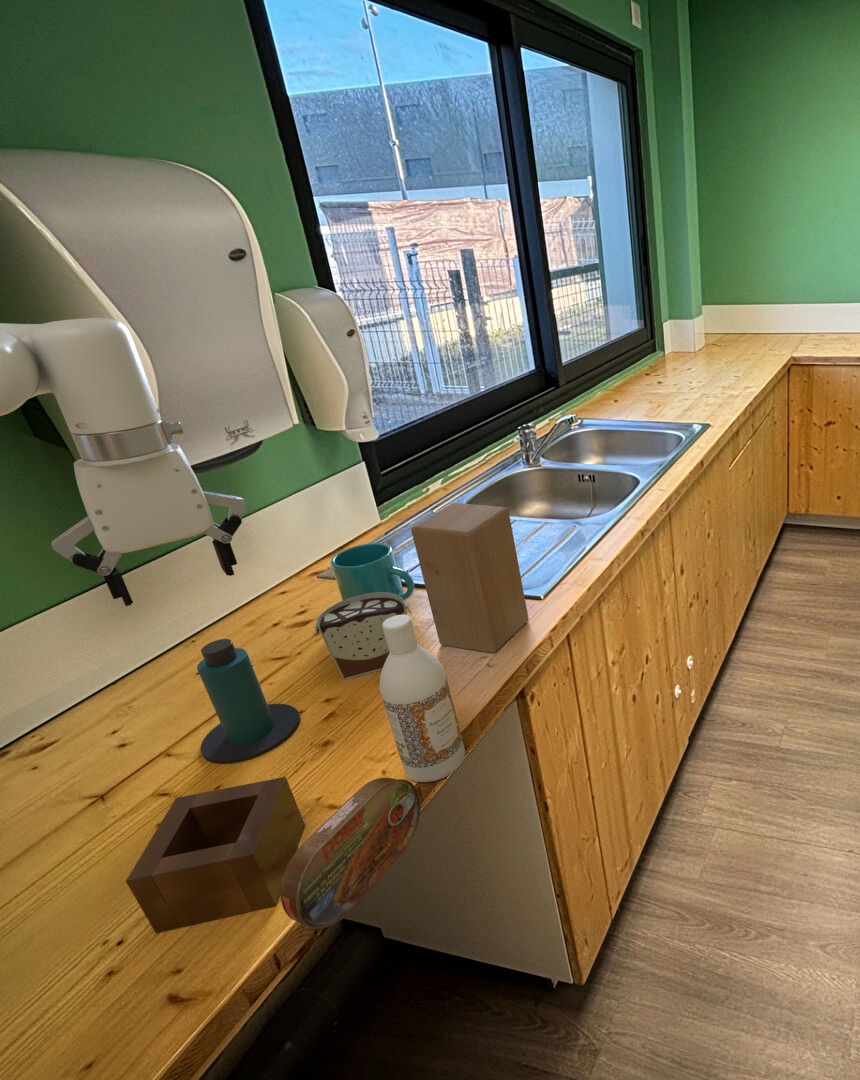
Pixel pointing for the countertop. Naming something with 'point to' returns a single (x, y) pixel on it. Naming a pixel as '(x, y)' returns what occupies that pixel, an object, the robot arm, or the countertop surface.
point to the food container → (359, 631)
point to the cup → (369, 572)
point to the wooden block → (471, 575)
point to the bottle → (235, 692)
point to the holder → (218, 855)
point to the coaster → (225, 752)
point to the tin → (350, 852)
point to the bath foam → (419, 705)
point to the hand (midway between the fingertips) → (180, 586)
